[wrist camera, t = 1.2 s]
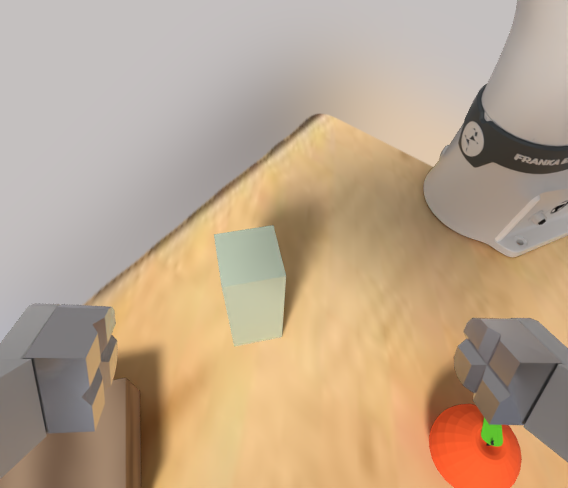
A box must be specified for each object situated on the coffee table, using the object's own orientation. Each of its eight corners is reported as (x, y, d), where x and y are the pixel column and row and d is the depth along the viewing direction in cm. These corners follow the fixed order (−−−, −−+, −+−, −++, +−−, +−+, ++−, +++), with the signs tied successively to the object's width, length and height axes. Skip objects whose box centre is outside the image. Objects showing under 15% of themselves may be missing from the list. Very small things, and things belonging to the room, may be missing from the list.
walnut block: (139, 390, 38) (125, 377, 35) (141, 513, 33) (125, 513, 29) (28, 413, 37) (1, 402, 33) (11, 546, 32) (-23, 550, 28)
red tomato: (425, 391, 39) (452, 370, 33) (498, 416, 38) (539, 398, 32) (413, 481, 35) (442, 475, 29) (495, 511, 34) (542, 511, 28)
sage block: (272, 294, 45) (273, 225, 34) (281, 337, 42) (286, 276, 31) (227, 303, 44) (214, 234, 33) (234, 346, 41) (221, 287, 30)
